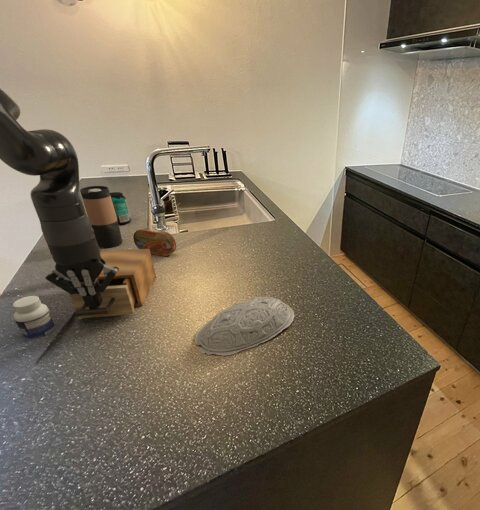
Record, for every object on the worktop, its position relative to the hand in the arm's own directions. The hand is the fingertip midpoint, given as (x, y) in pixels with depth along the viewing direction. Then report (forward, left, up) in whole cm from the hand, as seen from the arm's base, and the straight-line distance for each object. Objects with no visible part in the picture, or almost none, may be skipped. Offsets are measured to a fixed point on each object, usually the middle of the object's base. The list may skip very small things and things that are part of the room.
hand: (95, 306), depth 69 cm
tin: (+3, +39, -6) cm, 39 cm away
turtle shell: (+33, -5, -6) cm, 34 cm away
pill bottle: (-11, -1, -6) cm, 13 cm away
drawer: (0, +7, -5) cm, 9 cm away
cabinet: (0, +15, -6) cm, 16 cm away
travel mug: (-14, +48, -6) cm, 50 cm away
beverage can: (-17, +69, -6) cm, 71 cm away
